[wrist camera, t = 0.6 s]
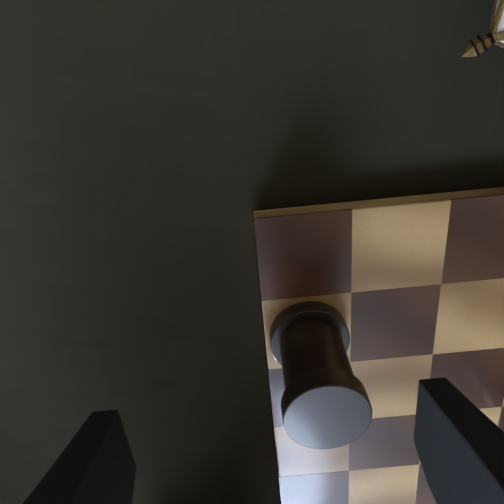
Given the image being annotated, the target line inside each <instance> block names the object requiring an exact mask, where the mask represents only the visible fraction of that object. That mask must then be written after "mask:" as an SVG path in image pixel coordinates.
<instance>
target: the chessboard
mask: <svg viewBox="0 0 504 504" xmlns="http://www.w3.org/2000/svg"><path fill="white" fill-rule="evenodd" d="M253 217H254V227H255V238H256V248H257V258H258V269H259V279H260V289H261V300H262V310H263V320H264V331H265V341H266V352H267V362H268V372H269V383H270V393H271V403H272V414H273V424H274V435H275V445H276V455H277V466H278V476H279V486H280V497H281V504H437V503H436V501H435V499H434V497H433V495H432V492H431V490H430V488H429V485H428V483H427V480H426V477H425V474H424V471H423V468H422V466H421V463H420V459H419V456H418V453H417V450H416V447H415V444H414V441H413V438H414V427H415V417H416V406H417V395H418V384H419V380H422V379H432V378H442V377H445V378H446V379H448V380H449V381H450V382H451V383H452V384H453V385H454V386H455V387H456V388H457V389H458V390H459V391H460V392H462V393H463V394H464V395H465V396H466V397H467V398H468V399H469V400H470V401H471V402H472V403H473V404H474V405H475V406H476V407H477V408H479V409H480V410H481V411H482V412H483V413H484V414H485V415H486V416H487V417H488V418H489V419H490V420H492V421H493V422H494V423H495V424H496V425H497V426H498V427H499V428H500V429H501V430H504V187H496V188H486V189H476V190H465V191H455V192H445V193H434V194H424V195H414V196H403V197H393V198H383V199H373V200H362V201H352V202H342V203H331V204H321V205H311V206H300V207H290V208H280V209H269V210H259V211H254V212H253ZM305 301H318V302H323V303H326V304H328V305H330V306H332V307H334V308H335V309H336V310H338V311H339V312H340V313H341V315H342V316H343V318H344V320H345V322H346V325H347V328H348V330H349V334H350V344H349V348H348V350H347V352H346V353H347V356H348V359H349V362H350V365H351V368H352V371H353V374H354V376H355V377H357V378H358V379H359V380H360V381H361V382H362V384H363V385H364V387H365V389H366V392H367V395H368V397H369V400H370V403H371V406H372V420H371V423H370V425H369V427H368V428H367V430H366V431H365V432H364V433H363V435H361V436H360V437H359V438H358V439H356V440H355V441H353V442H351V443H349V444H347V445H345V446H342V447H338V448H334V449H324V450H322V449H312V448H308V447H305V446H302V445H300V444H298V443H296V442H295V441H293V440H292V439H291V438H290V437H289V436H288V434H287V433H286V431H285V429H284V426H283V421H282V412H281V398H282V395H283V393H284V391H285V385H284V377H283V370H282V366H281V365H280V364H279V363H278V362H277V361H276V360H275V358H274V356H273V355H272V352H271V347H270V338H269V333H270V328H271V325H272V323H273V321H274V319H275V318H276V316H277V315H278V314H279V313H280V312H281V311H283V310H284V309H286V308H287V307H289V306H291V305H293V304H296V303H299V302H305Z"/></svg>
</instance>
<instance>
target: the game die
mask: <svg viewBox="0 0 504 504" xmlns="http://www.w3.org/2000/svg"><path fill="white" fill-rule="evenodd" d="M492 44H496V45H498V46H500V47H502V48H504V0H494V6H493V13H492V19H491V26H490V32H489V33H488V34H487V35H484V36H479V35H478V36H477V38H476V39H474V40H473V41H472V40H469V44H468V46H467V48H466V49H465V51H464V53H463V54H462V56H461V57H471V56H475V57H478V56H480V55H479V54H480V53H482V52H486V51H487V48H488V47H490V46H491V45H492Z"/></svg>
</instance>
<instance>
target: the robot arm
mask: <svg viewBox="0 0 504 504" xmlns="http://www.w3.org/2000/svg"><path fill="white" fill-rule="evenodd" d="M413 441H414V444H415V447H416V450H417V453H418V456H419V459H420V463H421V466H422V468H423V471H424V474H425V477H426V480H427V483H428V485H429V488H430V490H431V492H432V495H433V497H434V499H435V501H436V503H437V504H504V431H503V430H501V429H500V428H499V427H498V426H497V425H496V424H495V423H494V422H493V421H492V420H490V419H489V418H488V417H487V416H486V415H485V414H484V413H483V412H482V411H481V410H480V409H479V408H477V407H476V406H475V405H474V404H473V403H472V402H471V401H470V400H469V399H468V398H467V397H466V396H465V395H464V394H463V393H462V392H460V391H459V390H458V389H457V388H456V387H455V386H454V385H453V384H452V383H451V382H450V381H449V380H448V379H446V378H445V377H442V378H432V379H422V380H419V384H418V395H417V406H416V417H415V427H414V438H413ZM135 474H136V464H135V461H134V458H133V455H132V452H131V449H130V446H129V443H128V440H127V437H126V434H125V431H124V428H123V425H122V421H121V418H120V415H119V412H118V410H109V411H99V412H92V413H91V415H90V416H89V417H88V418H87V420H86V421H85V422H84V424H83V425H82V426H81V428H80V429H79V430H78V432H77V433H76V434H75V436H74V437H73V439H72V440H71V441H70V443H69V444H68V445H67V447H66V448H65V449H64V451H63V452H62V453H61V455H60V456H59V457H58V459H57V460H56V461H55V463H54V464H53V465H52V467H51V468H50V469H49V471H48V472H47V473H46V474H45V476H44V477H43V478H42V480H41V481H40V482H39V483H38V485H37V486H36V487H35V489H34V490H33V491H32V493H31V494H30V495H29V496H28V498H27V499H26V500H25V501H24V503H23V504H132V498H133V491H134V482H135Z"/></svg>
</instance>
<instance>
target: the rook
mask: <svg viewBox="0 0 504 504" xmlns="http://www.w3.org/2000/svg"><path fill="white" fill-rule="evenodd" d="M269 338H270V347H271V352H272V355H273V356H274V358H275V360H276V361H277V362H278V363H279V364H280V365H281V366H282V370H283V377H284V385H285V391H284V393H283V395H282V398H281V412H282V421H283V426H284V429H285V431H286V433H287V434H288V436H289V437H290V438H291V439H292V440H293V441H295V442H296V443H298V444H300V445H302V446H305V447H308V448H312V449H322V450H324V449H334V448H338V447H342V446H345V445H347V444H349V443H351V442H353V441H355V440H356V439H358V438H359V437H360V436H361V435H363V433H364V432H365V431H366V430H367V428H368V427H369V425H370V423H371V420H372V406H371V403H370V400H369V397H368V395H367V392H366V389H365V387H364V385H363V384H362V382H361V381H360V380H359V379H358V378H357V377H355V376H354V374H353V371H352V368H351V365H350V362H349V359H348V356H347V353H346V352H347V350H348V348H349V344H350V334H349V330H348V328H347V325H346V322H345V320H344V318H343V316H342V315H341V313H340V312H339V311H338V310H336V309H335V308H334V307H332V306H330V305H328V304H326V303H323V302H318V301H305V302H299V303H296V304H293V305H291V306H289V307H287V308H286V309H284V310H283V311H281V312H280V313H279V314H278V315H277V316H276V318H275V319H274V321H273V323H272V325H271V328H270V333H269Z"/></svg>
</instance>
